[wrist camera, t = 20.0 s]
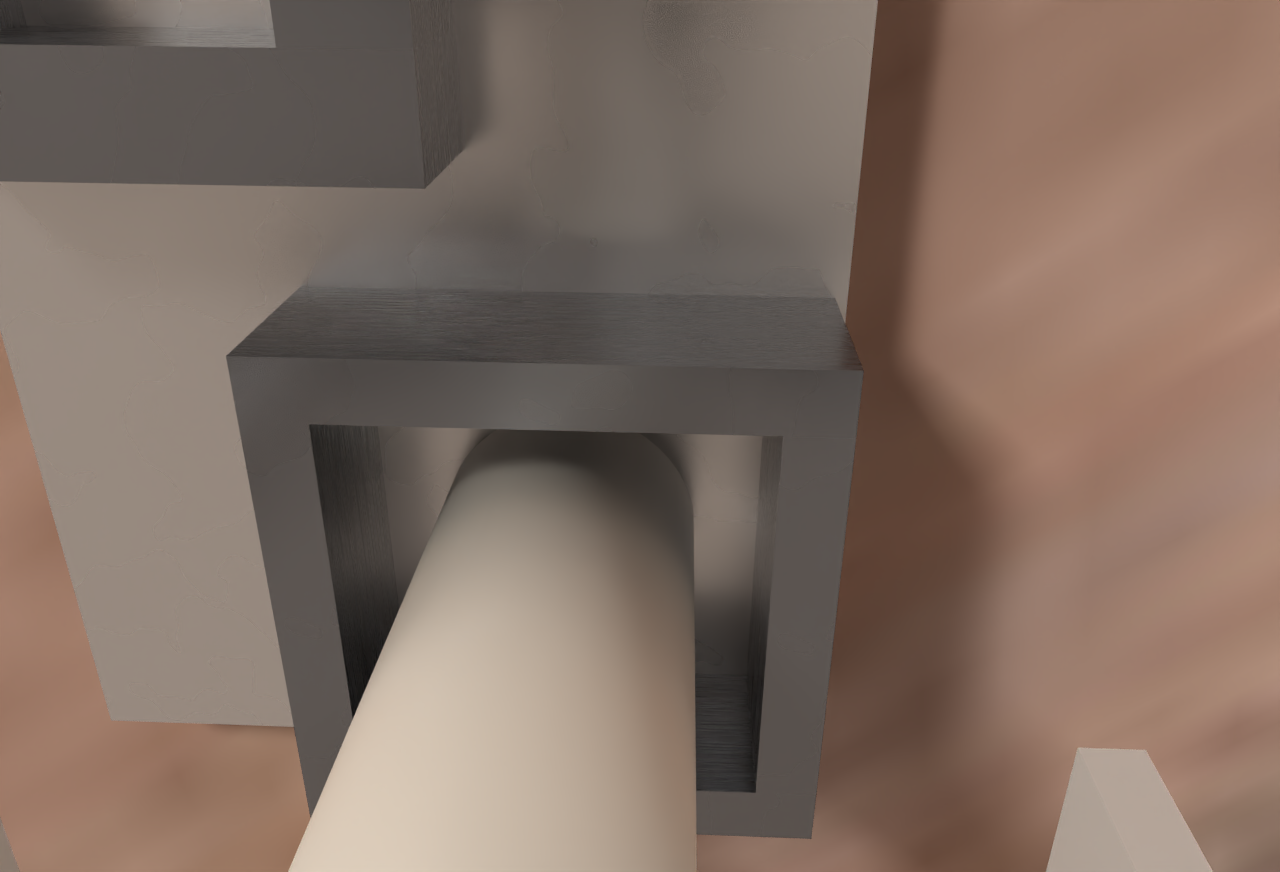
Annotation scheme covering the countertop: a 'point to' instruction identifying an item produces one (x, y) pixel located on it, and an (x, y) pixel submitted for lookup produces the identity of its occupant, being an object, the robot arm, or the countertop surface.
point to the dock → (432, 326)
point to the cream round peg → (531, 676)
